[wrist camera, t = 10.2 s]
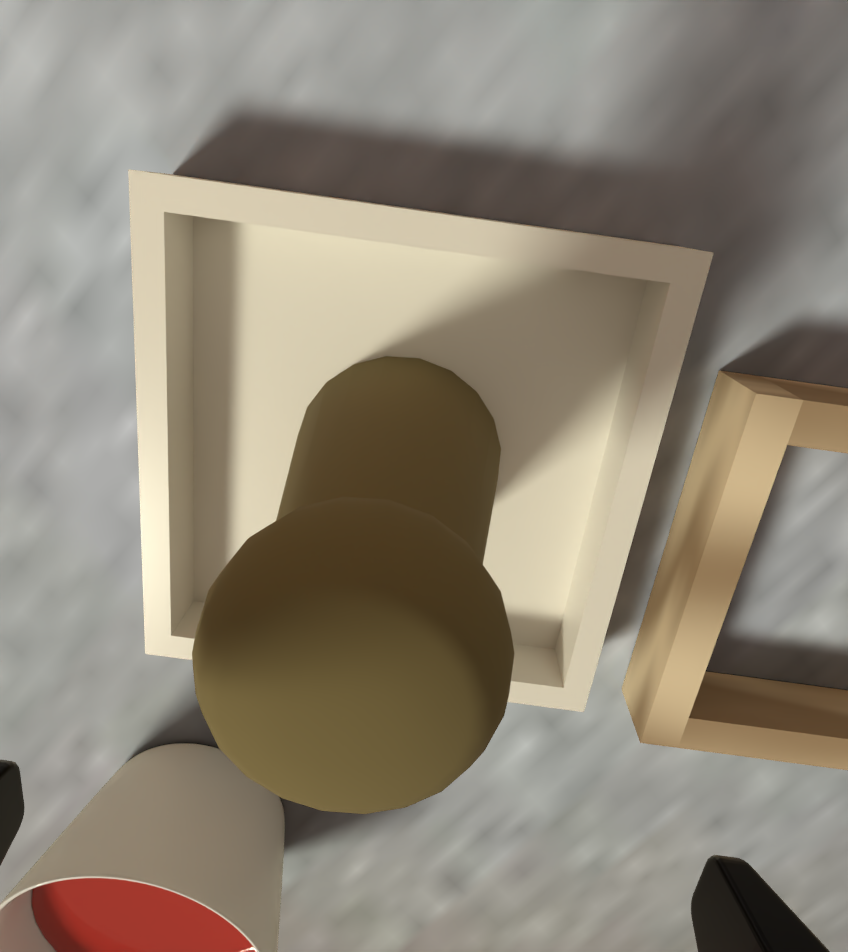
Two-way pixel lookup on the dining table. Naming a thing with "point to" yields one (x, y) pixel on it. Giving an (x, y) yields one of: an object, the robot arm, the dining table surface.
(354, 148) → the dining table surface
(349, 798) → the cork
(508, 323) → the plastic tray
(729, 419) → the wooden holder
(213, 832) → the candle
